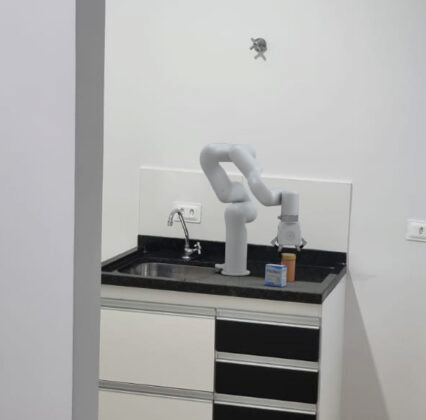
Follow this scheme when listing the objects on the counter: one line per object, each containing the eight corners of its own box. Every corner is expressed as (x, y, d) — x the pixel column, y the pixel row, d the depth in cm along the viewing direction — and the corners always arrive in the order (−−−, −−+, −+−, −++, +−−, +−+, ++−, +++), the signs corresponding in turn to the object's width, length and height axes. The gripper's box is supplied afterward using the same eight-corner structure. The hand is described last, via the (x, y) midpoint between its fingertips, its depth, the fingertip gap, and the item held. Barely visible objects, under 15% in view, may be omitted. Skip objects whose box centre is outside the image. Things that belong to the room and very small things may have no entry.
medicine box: (264, 285, 358) (265, 264, 357) (269, 283, 362) (270, 263, 361) (281, 287, 354) (282, 266, 354) (286, 285, 358) (287, 265, 358)
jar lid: (294, 260, 367) (295, 256, 367) (279, 259, 368) (279, 255, 368) (296, 257, 374) (297, 253, 374) (281, 257, 375) (282, 252, 374)
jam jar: (279, 281, 369) (280, 256, 368) (280, 278, 375) (281, 254, 374) (293, 281, 369) (294, 257, 368) (295, 279, 375) (296, 255, 374)
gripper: (271, 219, 364) (270, 261, 365) (311, 219, 368) (309, 261, 370) (268, 217, 371) (266, 258, 372) (307, 218, 375) (305, 258, 377)
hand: (288, 259), depth 371 cm, fingers closed on jar lid, 6 cm apart
